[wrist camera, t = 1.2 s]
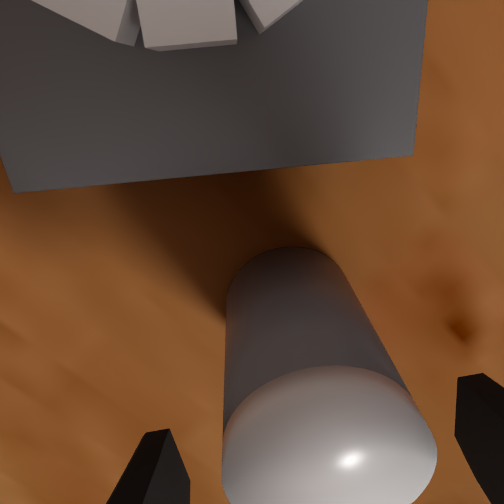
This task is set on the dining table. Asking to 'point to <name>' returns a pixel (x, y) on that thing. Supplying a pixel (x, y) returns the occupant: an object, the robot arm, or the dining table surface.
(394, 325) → the dining table surface
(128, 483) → the robot arm
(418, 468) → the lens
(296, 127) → the grey flange plate
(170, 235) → the dining table surface
